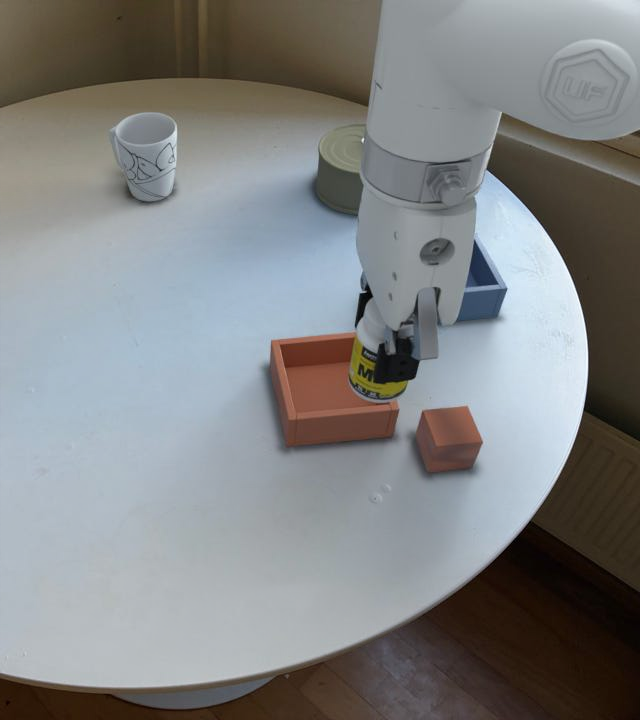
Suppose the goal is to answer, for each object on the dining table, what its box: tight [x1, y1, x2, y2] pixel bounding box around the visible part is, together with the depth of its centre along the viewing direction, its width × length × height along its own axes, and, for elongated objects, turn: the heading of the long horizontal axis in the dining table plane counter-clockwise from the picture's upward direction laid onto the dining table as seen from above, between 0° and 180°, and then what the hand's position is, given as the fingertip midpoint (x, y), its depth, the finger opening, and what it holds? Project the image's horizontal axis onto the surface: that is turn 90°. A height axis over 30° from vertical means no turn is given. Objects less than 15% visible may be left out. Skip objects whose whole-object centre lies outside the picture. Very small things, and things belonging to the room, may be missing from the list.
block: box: [414, 405, 484, 473], centre depth 76 cm, size 4×4×4 cm
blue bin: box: [437, 232, 509, 324], centre depth 92 cm, size 10×10×5 cm
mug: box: [108, 111, 178, 203], centre depth 109 cm, size 11×8×10 cm
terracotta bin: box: [269, 331, 401, 448], centre depth 82 cm, size 11×11×5 cm
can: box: [315, 123, 366, 216], centre depth 106 cm, size 12×12×7 cm
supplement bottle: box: [348, 297, 414, 403], centre depth 61 cm, size 5×5×8 cm
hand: (383, 351), depth 61 cm, fingers closed on supplement bottle, 4 cm apart
